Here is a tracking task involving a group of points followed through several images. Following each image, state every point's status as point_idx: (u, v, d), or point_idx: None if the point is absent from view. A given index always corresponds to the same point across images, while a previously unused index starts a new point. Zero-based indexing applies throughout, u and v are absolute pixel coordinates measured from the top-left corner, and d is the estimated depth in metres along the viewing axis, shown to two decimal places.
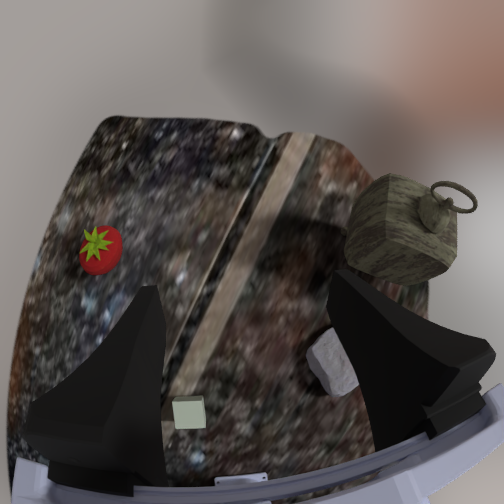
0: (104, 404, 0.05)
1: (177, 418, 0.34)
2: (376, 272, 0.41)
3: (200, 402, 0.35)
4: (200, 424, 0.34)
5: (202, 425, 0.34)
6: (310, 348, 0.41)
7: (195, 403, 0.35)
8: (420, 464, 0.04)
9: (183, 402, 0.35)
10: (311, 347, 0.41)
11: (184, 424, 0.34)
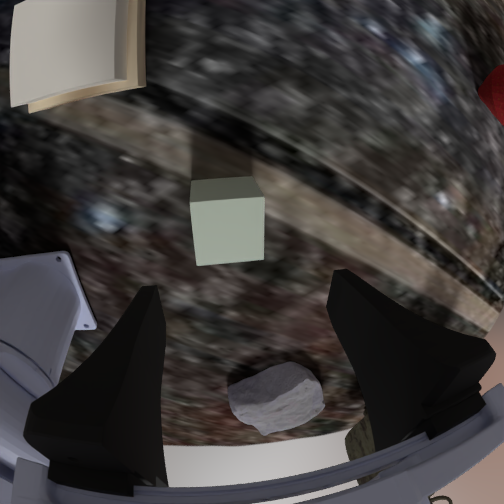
0: (104, 404, 0.05)
1: (218, 208, 0.16)
2: None
3: (259, 257, 0.18)
4: (205, 256, 0.17)
5: (201, 261, 0.17)
6: (304, 374, 0.29)
7: (258, 247, 0.17)
8: (420, 464, 0.04)
9: (261, 222, 0.17)
10: (306, 375, 0.29)
11: (203, 223, 0.16)
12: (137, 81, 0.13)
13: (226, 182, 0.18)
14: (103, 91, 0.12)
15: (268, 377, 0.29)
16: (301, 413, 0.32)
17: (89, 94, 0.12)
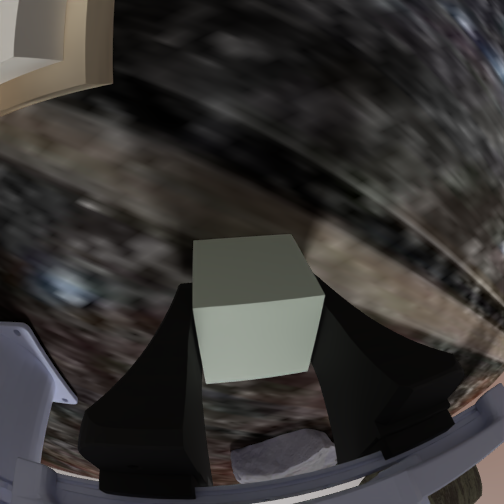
0: (173, 405, 0.05)
1: (244, 315, 0.09)
2: None
3: (302, 369, 0.11)
4: (219, 374, 0.10)
5: (214, 379, 0.10)
6: (320, 443, 0.22)
7: (303, 358, 0.10)
8: (420, 464, 0.04)
9: (313, 329, 0.10)
10: (321, 444, 0.22)
11: (217, 336, 0.09)
12: (85, 75, 0.06)
13: (252, 251, 0.11)
14: (28, 98, 0.06)
15: (278, 445, 0.23)
16: None
17: (7, 106, 0.05)
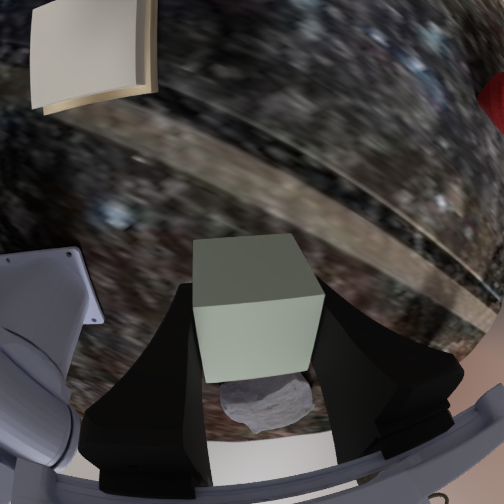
0: (173, 405, 0.05)
1: (244, 315, 0.09)
2: None
3: (302, 368, 0.11)
4: (219, 373, 0.10)
5: (214, 378, 0.10)
6: (292, 374, 0.30)
7: (303, 358, 0.10)
8: (420, 464, 0.04)
9: (313, 329, 0.10)
10: (294, 376, 0.30)
11: (217, 335, 0.09)
12: (150, 88, 0.14)
13: (252, 251, 0.11)
14: (117, 96, 0.13)
15: None
16: (290, 412, 0.33)
17: (104, 99, 0.13)
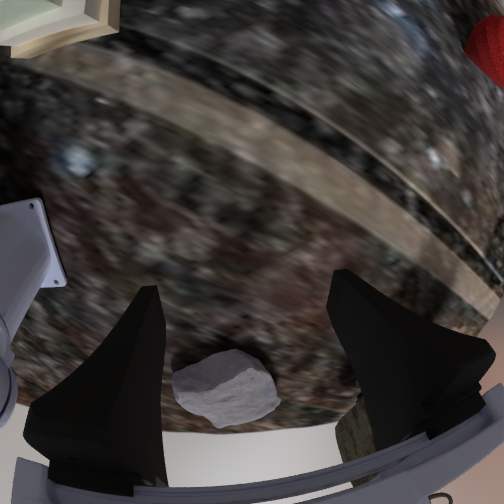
0: (104, 404, 0.05)
1: None
2: (365, 410, 0.30)
3: None
4: None
5: None
6: (248, 362, 0.28)
7: None
8: (420, 464, 0.04)
9: None
10: (249, 364, 0.27)
11: None
12: (107, 21, 0.11)
13: None
14: (76, 32, 0.11)
15: (211, 364, 0.28)
16: (253, 406, 0.30)
17: (64, 35, 0.10)
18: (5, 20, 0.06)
